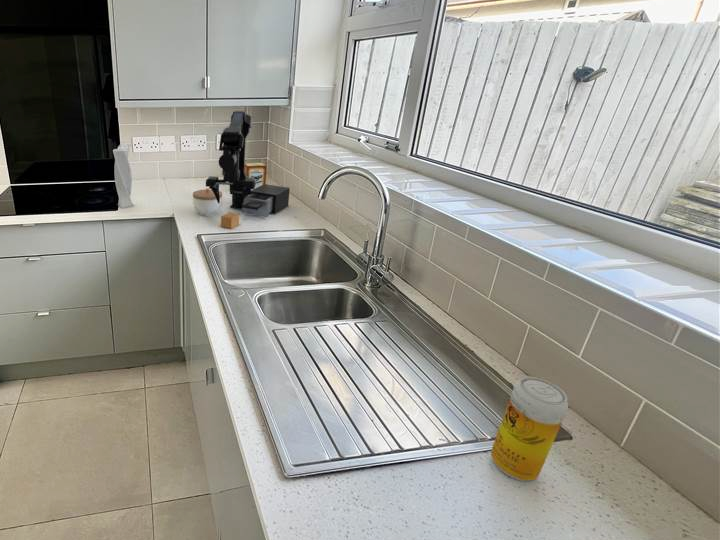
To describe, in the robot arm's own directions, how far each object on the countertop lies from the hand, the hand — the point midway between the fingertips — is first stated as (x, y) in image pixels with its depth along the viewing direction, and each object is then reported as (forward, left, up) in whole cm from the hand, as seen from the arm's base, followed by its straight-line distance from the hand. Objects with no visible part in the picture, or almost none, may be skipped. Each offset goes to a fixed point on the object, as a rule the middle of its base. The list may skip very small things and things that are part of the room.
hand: (230, 204), depth 159 cm
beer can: (+91, -69, -9) cm, 115 cm away
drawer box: (+3, +30, -9) cm, 31 cm away
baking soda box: (-12, +44, -9) cm, 46 cm away
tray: (+3, +19, -8) cm, 21 cm away
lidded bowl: (-16, +8, -9) cm, 20 cm away
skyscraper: (-54, -3, -9) cm, 55 cm away
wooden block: (0, 0, -9) cm, 9 cm away
